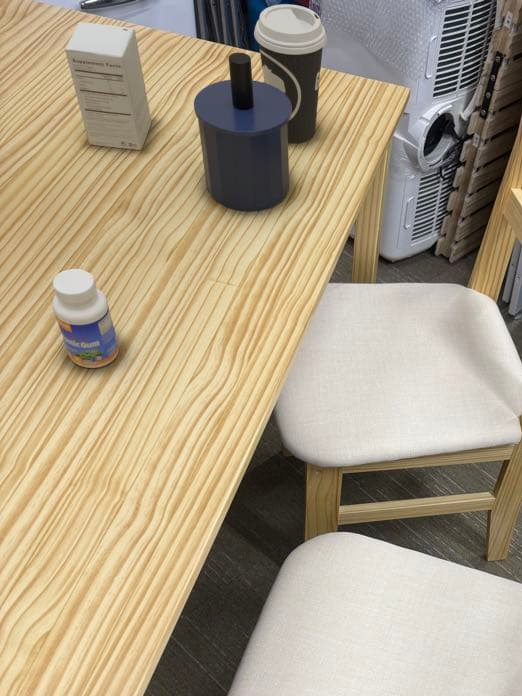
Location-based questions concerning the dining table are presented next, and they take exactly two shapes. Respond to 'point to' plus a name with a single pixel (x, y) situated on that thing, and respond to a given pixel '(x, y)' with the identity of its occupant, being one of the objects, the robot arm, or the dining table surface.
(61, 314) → the pill bottle
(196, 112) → the lid
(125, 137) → the white packaging box
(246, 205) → the tin
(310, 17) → the coffee cup
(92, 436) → the dining table surface
